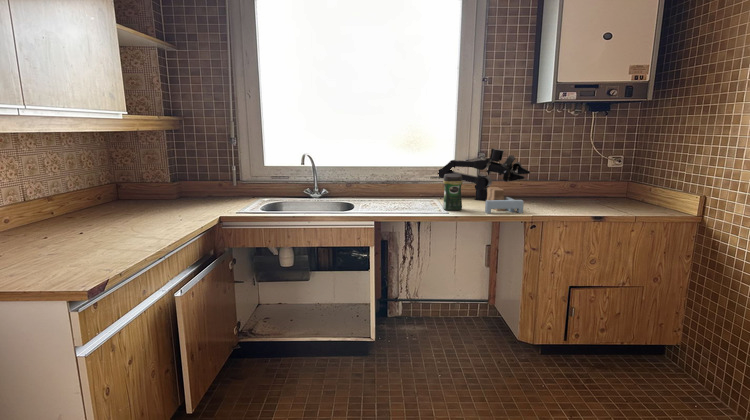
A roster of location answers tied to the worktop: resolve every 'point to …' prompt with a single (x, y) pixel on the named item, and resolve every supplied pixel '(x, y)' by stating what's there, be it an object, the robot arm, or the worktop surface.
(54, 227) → the worktop surface
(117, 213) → the worktop surface
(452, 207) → the coffee jar
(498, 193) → the tan stepped block
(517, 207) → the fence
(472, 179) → the robot arm
